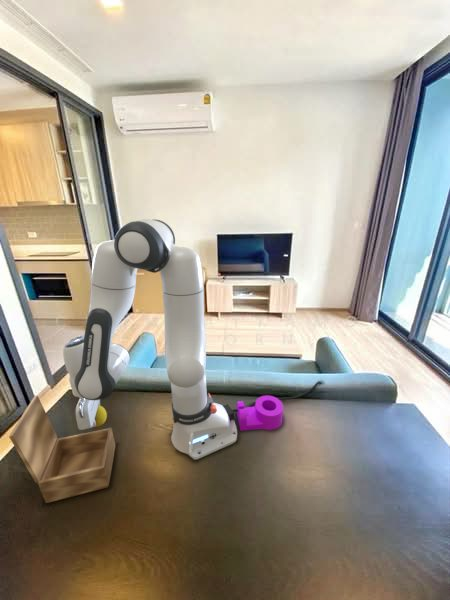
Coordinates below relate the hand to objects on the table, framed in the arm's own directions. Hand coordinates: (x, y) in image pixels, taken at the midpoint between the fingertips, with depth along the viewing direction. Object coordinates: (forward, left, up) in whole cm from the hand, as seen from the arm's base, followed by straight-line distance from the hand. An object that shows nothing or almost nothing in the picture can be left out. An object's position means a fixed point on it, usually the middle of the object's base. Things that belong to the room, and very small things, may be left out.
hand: (95, 417), depth 84 cm
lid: (+10, +13, +9) cm, 19 cm away
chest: (+2, +13, -8) cm, 15 cm away
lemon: (-1, 0, -4) cm, 4 cm away
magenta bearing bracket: (-56, +9, -8) cm, 57 cm away
